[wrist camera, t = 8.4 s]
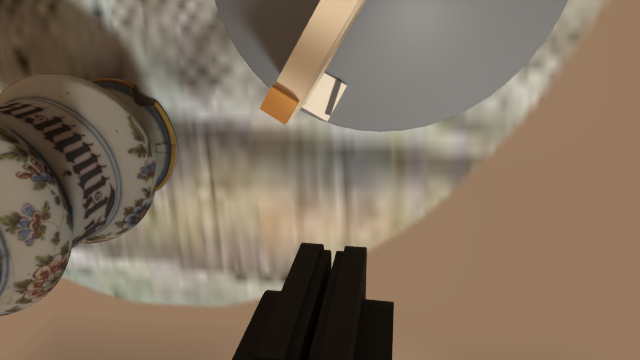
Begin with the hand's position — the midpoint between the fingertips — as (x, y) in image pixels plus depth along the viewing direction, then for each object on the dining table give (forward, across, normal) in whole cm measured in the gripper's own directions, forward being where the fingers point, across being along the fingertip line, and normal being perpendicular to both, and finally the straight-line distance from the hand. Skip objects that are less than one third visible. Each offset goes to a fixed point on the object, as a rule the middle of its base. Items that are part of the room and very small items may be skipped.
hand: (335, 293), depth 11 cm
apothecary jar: (+21, +21, +3) cm, 30 cm away
